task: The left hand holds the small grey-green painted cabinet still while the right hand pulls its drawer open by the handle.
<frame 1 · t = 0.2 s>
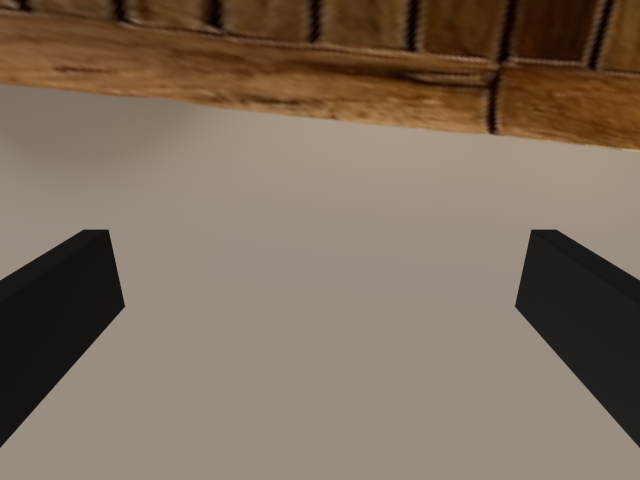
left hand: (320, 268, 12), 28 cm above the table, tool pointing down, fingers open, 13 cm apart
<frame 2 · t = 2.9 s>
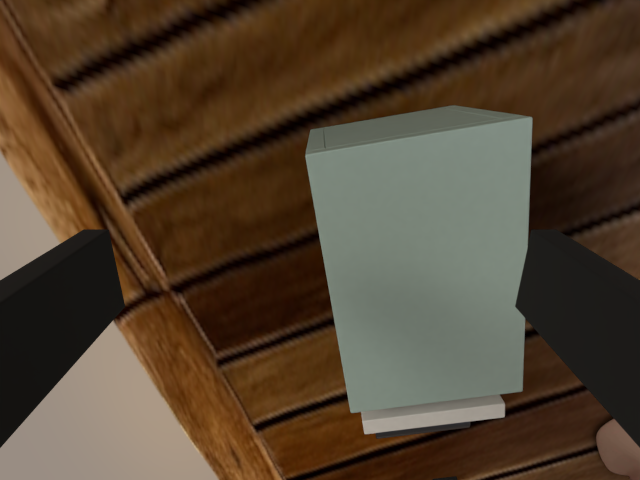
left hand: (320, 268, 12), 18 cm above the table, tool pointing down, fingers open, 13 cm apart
drawer: (413, 330, 28), point 6 cm above the table, slide at 1.8 cm
cabinet: (391, 221, 31), on the table
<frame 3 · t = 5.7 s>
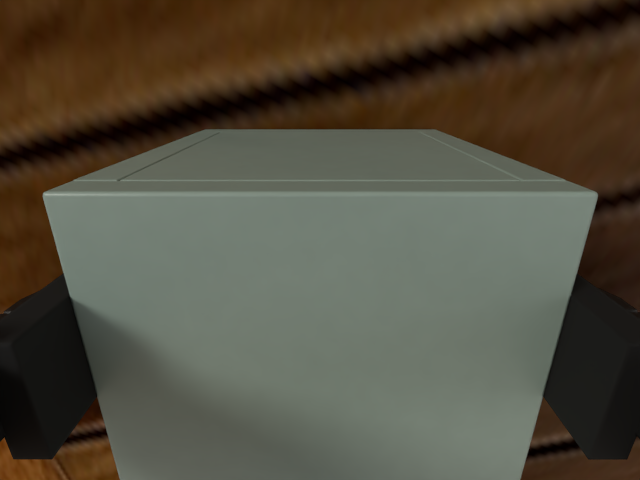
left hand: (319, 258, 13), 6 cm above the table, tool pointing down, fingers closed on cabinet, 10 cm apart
cabinet: (320, 286, 20), on the table, touching left hand
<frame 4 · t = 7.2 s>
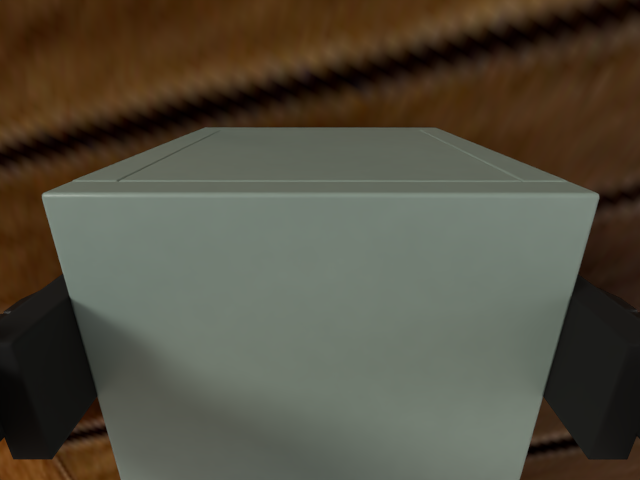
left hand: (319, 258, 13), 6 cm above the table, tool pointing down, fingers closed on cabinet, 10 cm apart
cabinet: (320, 284, 20), on the table, touching left hand
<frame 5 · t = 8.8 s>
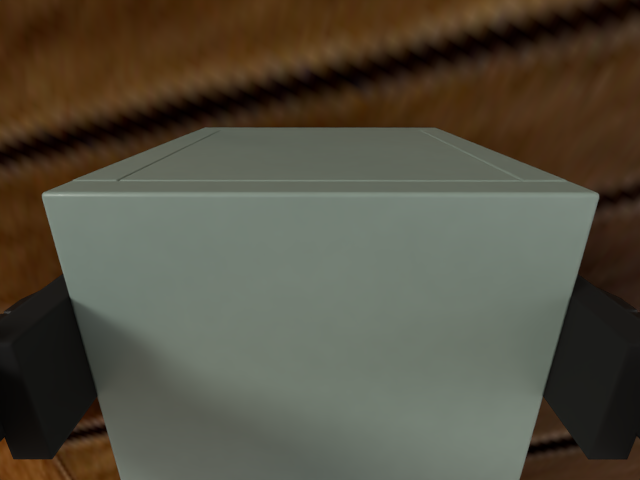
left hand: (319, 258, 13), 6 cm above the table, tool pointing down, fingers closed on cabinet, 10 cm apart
cabinet: (320, 285, 20), on the table, touching left hand
when the left hand's fingers open (6 cm above the table, at t = 10.7 s): cabinet stays where it is, on the table.
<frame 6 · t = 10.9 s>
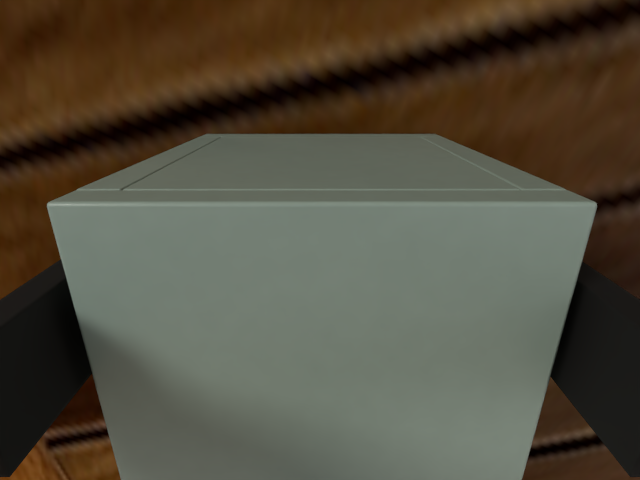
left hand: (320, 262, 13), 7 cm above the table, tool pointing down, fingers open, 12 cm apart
cabinet: (320, 290, 21), on the table
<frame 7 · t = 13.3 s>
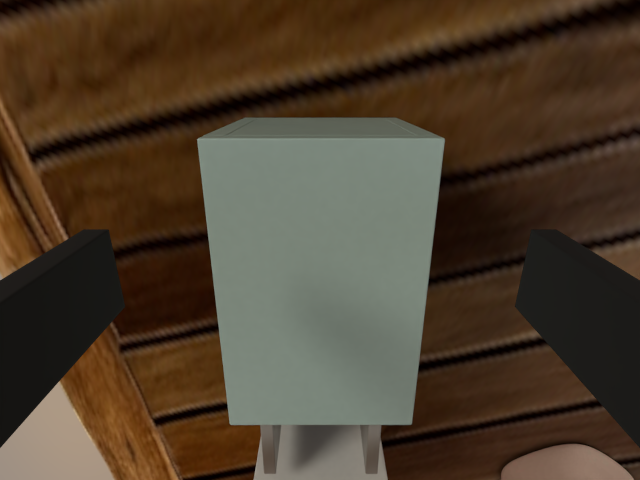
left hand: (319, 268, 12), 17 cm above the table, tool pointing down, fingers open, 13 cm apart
drawer: (320, 405, 29), point 6 cm above the table, slide at 7.2 cm
cabinet: (320, 227, 30), on the table
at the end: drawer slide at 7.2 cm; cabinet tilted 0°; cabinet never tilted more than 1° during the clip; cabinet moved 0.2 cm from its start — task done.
